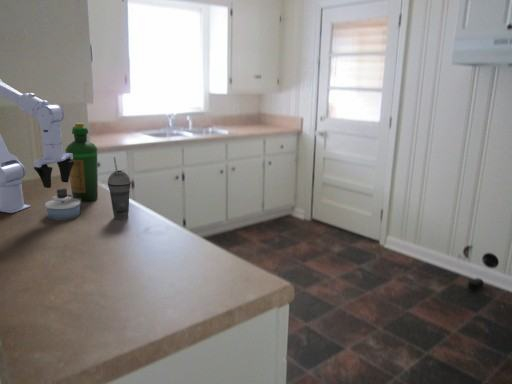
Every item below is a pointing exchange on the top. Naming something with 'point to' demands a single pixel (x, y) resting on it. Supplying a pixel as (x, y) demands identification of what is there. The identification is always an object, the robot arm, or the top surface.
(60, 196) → the knobbed lid
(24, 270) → the top surface
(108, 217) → the top surface
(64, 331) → the top surface
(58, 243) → the top surface
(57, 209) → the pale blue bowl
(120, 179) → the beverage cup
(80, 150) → the bottle
